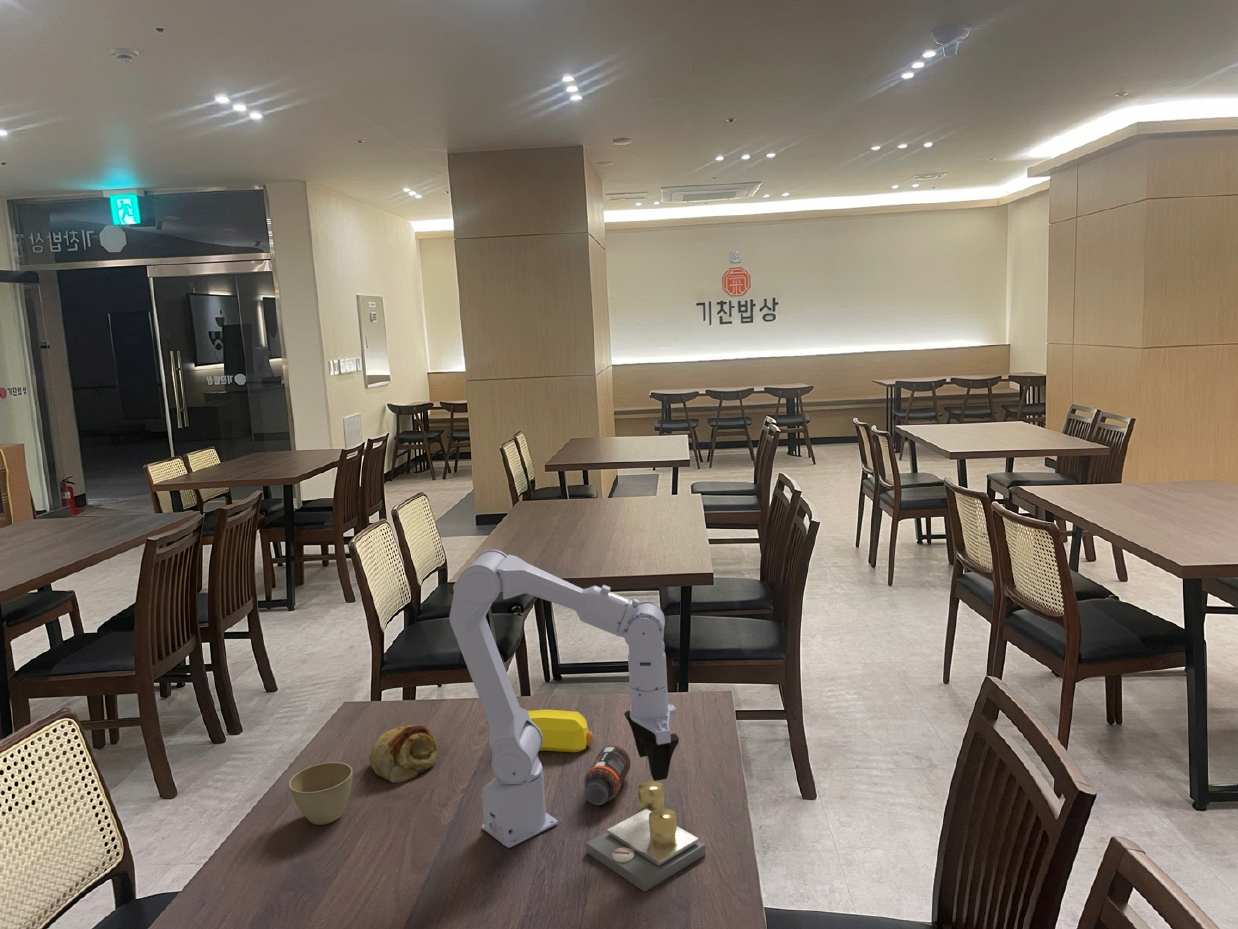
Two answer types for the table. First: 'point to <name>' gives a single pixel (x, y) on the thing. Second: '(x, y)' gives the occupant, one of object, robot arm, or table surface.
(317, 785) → the flower pot
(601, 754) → the supplement bottle
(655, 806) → the cylinder
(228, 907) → the table surface
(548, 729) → the yellow mustard bottle
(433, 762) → the pastry
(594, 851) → the scale
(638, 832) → the pan
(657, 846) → the cylinder
